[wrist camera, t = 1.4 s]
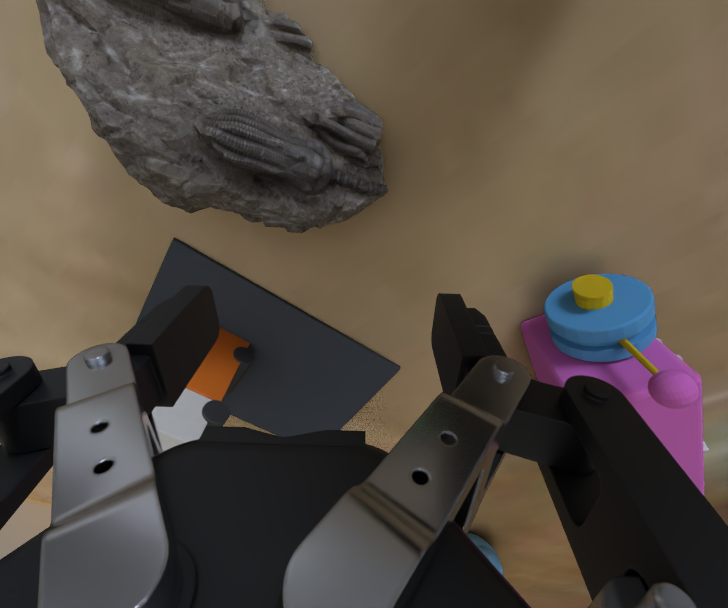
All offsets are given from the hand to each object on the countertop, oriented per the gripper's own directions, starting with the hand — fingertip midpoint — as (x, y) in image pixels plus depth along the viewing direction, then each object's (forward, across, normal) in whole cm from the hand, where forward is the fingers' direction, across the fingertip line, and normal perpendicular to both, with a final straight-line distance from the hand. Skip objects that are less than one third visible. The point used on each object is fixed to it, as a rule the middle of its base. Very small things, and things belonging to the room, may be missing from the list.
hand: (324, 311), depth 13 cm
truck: (+20, +14, +16) cm, 29 cm away
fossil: (+20, +7, -6) cm, 22 cm away
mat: (+20, +10, +19) cm, 29 cm away
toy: (+20, -25, +18) cm, 37 cm away
